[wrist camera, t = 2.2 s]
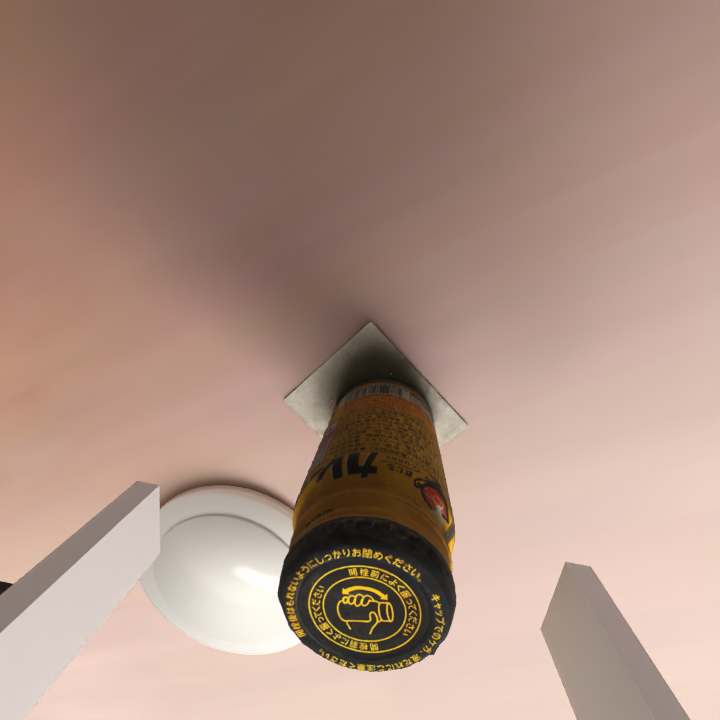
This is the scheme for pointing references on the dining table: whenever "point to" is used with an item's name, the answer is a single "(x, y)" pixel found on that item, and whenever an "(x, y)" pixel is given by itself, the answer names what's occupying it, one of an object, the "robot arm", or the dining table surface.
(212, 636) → the plate
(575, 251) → the dining table surface
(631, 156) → the dining table surface
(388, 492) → the condiment
